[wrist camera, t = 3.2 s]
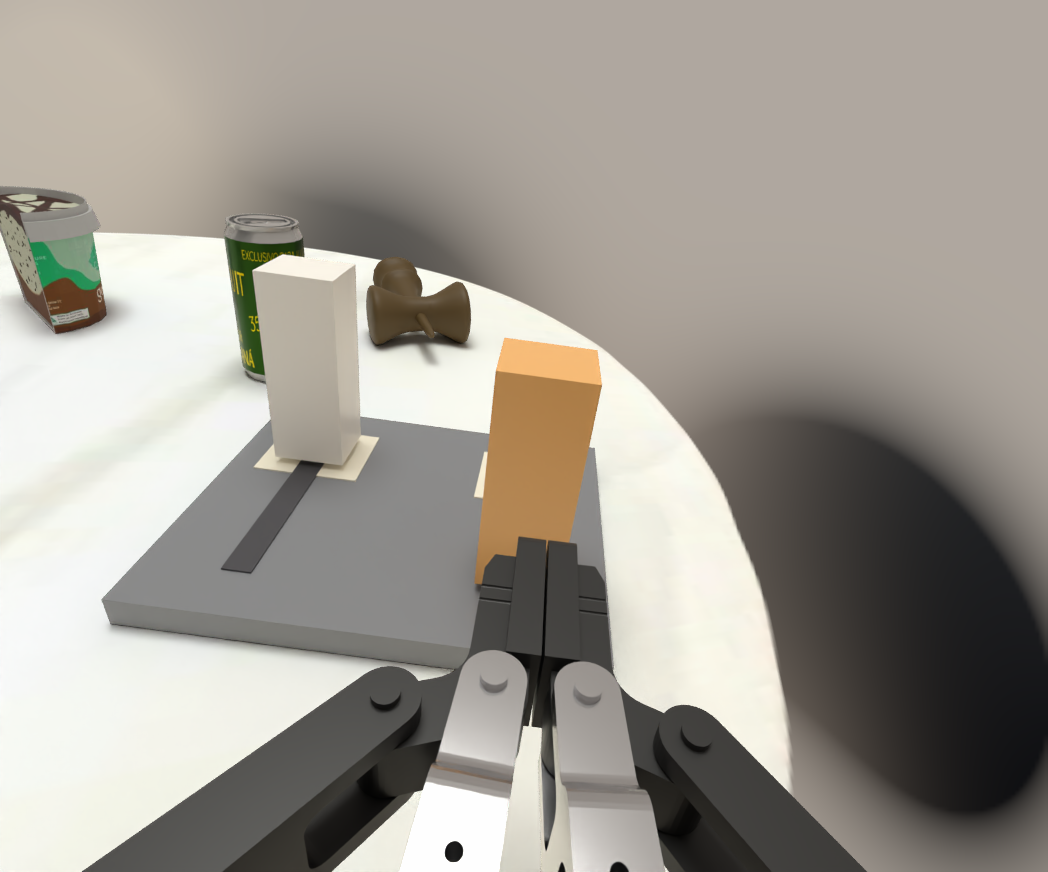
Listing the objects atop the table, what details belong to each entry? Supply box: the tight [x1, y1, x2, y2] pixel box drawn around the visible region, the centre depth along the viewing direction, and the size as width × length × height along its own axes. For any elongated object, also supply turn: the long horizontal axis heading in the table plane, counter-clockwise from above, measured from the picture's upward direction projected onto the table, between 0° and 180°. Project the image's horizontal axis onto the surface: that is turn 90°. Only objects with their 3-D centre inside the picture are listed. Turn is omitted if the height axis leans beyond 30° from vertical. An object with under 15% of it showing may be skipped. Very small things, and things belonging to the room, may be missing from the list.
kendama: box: [366, 257, 471, 345], centre depth 59 cm, size 6×10×20 cm
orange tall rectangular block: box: [474, 338, 602, 584], centre depth 26 cm, size 4×4×11 cm
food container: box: [0, 186, 106, 334], centre depth 51 cm, size 12×6×10 cm, turn 48°
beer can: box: [224, 213, 304, 382], centre depth 45 cm, size 5×5×12 cm
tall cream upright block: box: [252, 254, 361, 465], centre depth 32 cm, size 4×4×11 cm
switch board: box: [102, 417, 614, 669], centre depth 32 cm, size 18×22×2 cm
